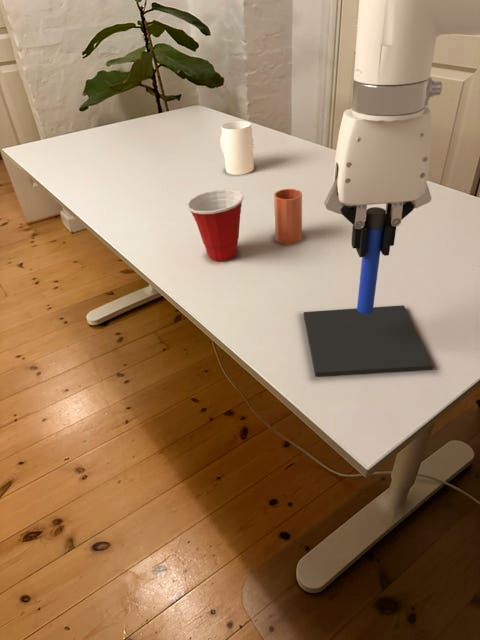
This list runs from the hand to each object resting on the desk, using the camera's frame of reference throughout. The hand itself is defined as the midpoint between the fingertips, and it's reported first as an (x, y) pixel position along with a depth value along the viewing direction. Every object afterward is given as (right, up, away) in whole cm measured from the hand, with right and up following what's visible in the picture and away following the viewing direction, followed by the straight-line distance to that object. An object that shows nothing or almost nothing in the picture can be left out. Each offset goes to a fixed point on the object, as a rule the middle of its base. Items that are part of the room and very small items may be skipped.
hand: (371, 250), depth 60 cm
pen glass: (-7, +8, +37) cm, 38 cm away
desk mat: (+1, -12, +9) cm, 15 cm away
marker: (+1, -8, +6) cm, 10 cm away
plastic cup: (-21, +4, +33) cm, 40 cm away
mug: (-18, +34, +72) cm, 82 cm away
